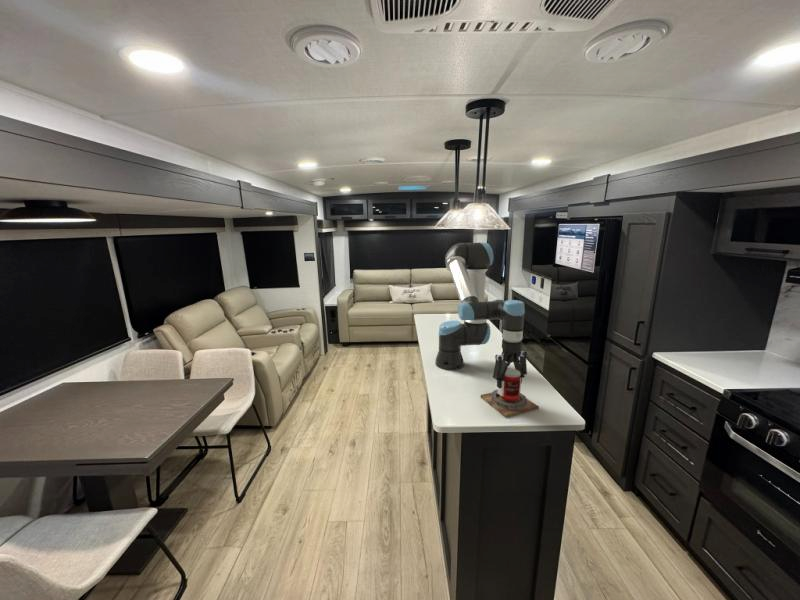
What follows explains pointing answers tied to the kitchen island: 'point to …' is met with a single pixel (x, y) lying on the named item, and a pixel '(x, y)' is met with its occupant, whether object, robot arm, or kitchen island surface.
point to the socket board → (510, 412)
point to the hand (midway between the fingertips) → (508, 392)
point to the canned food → (511, 384)
